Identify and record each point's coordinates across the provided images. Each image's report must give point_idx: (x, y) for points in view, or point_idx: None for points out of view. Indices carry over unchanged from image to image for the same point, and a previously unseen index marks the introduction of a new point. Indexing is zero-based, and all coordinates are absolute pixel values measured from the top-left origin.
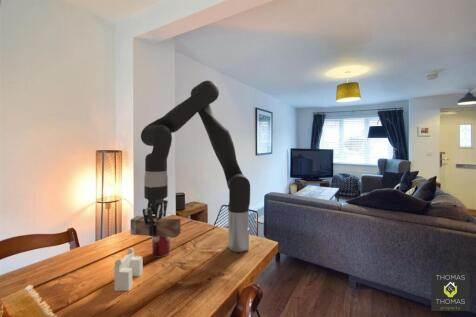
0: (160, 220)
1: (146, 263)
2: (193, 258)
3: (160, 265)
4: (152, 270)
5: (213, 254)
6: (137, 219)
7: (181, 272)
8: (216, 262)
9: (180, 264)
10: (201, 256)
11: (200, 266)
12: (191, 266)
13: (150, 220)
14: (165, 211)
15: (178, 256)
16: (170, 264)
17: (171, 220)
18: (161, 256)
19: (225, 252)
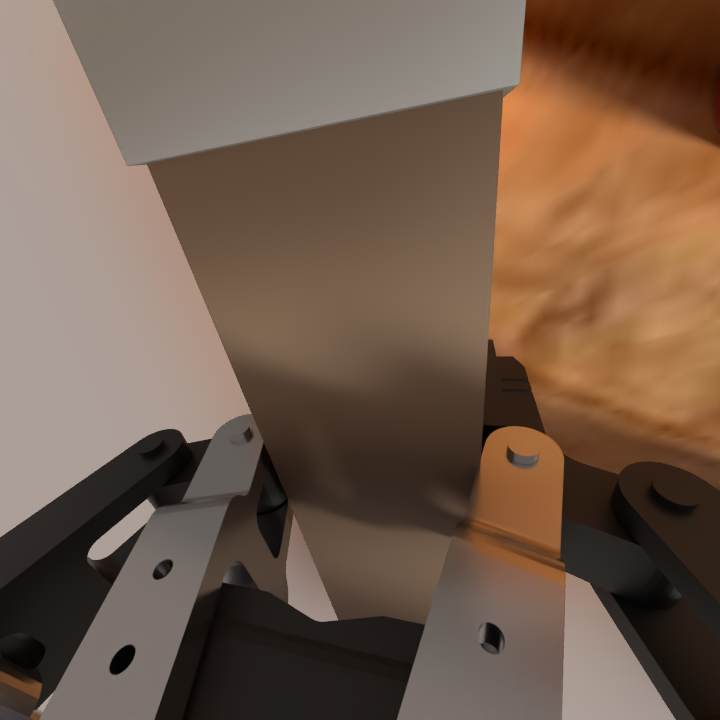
0: (357, 545)
1: (603, 53)
2: (650, 346)
3: (566, 190)
4: (501, 174)
5: (689, 427)
6: (194, 155)
7: (491, 335)
8: (588, 446)
9: (575, 303)
10: (672, 379)
11: (550, 395)
12: (551, 360)
13: (116, 557)
14: (694, 684)
15: (700, 248)
16: (577, 247)
17: (402, 618)
18: (715, 118)
19: (705, 471)
